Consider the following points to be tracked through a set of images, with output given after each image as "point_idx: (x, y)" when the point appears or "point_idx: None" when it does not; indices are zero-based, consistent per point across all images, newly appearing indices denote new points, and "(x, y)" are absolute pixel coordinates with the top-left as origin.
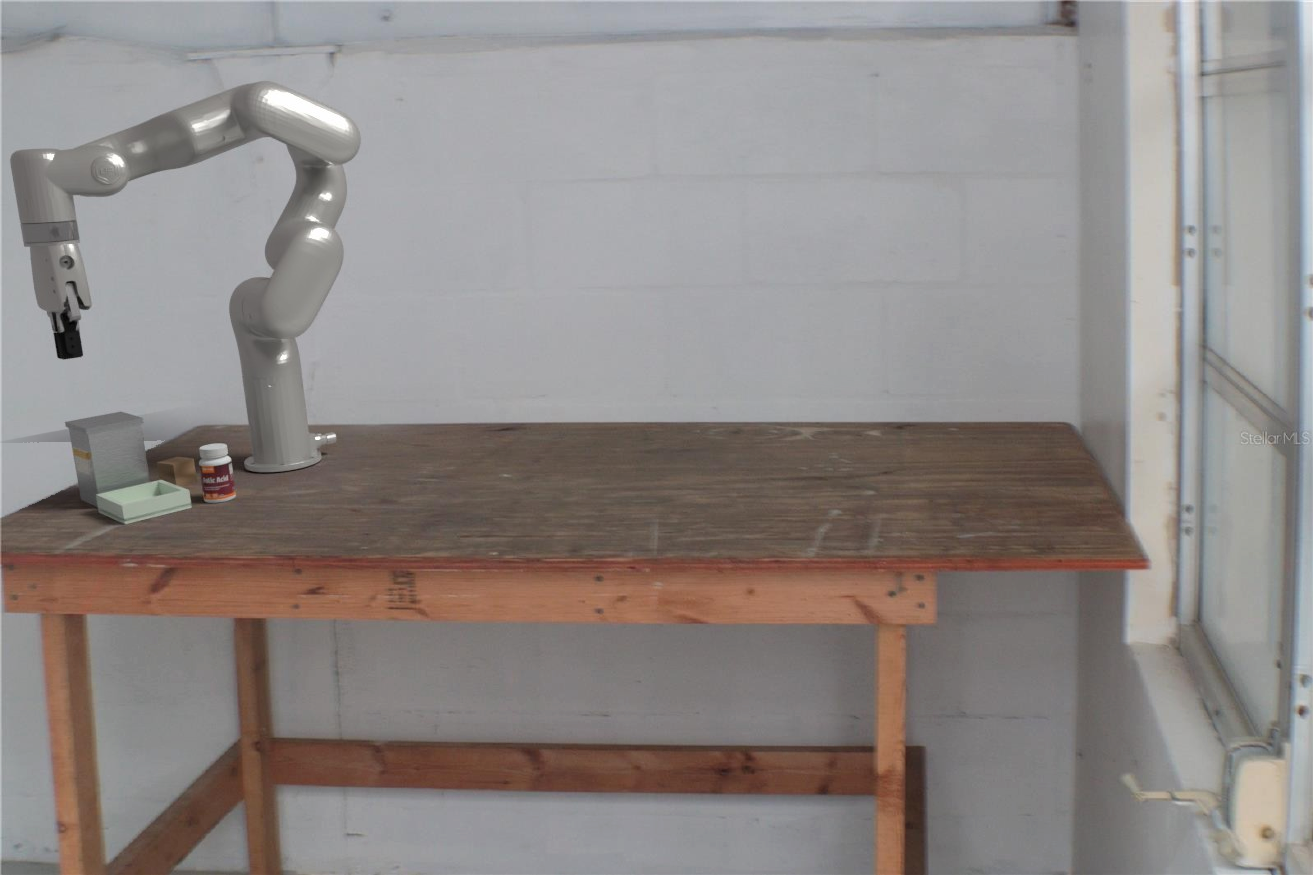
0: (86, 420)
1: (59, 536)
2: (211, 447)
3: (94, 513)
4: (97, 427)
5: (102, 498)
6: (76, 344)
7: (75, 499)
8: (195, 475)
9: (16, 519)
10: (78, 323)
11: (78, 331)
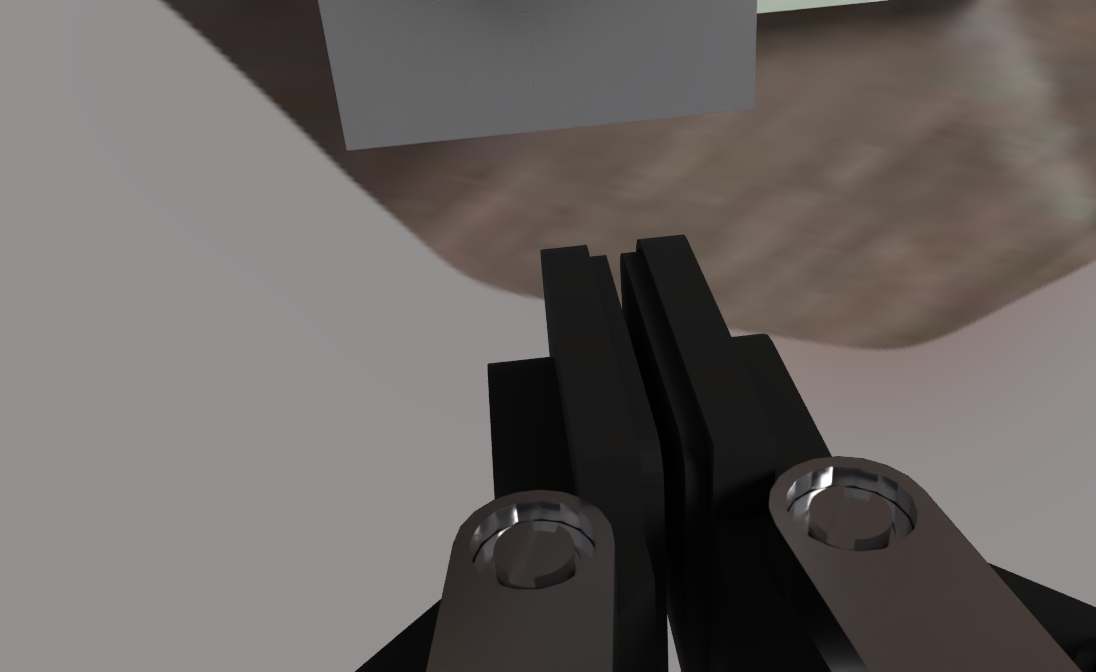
0: (432, 21)
1: (914, 206)
2: None
3: None
4: (754, 25)
5: (809, 6)
6: (790, 389)
7: None
8: None
9: (508, 274)
10: (979, 558)
11: (776, 441)
